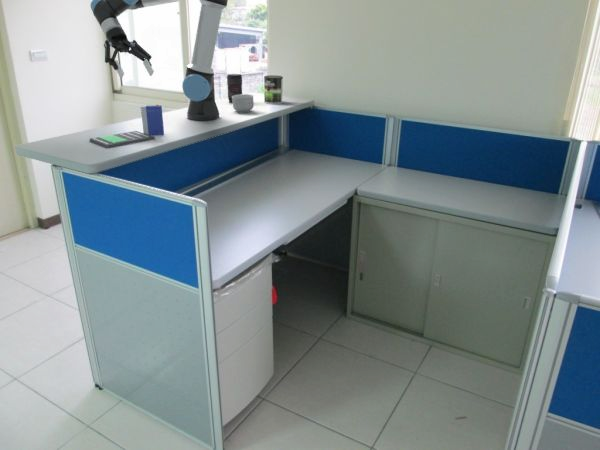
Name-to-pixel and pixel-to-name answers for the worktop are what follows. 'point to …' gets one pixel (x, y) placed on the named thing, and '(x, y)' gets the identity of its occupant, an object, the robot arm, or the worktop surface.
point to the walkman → (152, 120)
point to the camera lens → (234, 85)
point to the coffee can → (273, 89)
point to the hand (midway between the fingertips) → (137, 74)
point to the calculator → (121, 139)
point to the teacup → (243, 102)
